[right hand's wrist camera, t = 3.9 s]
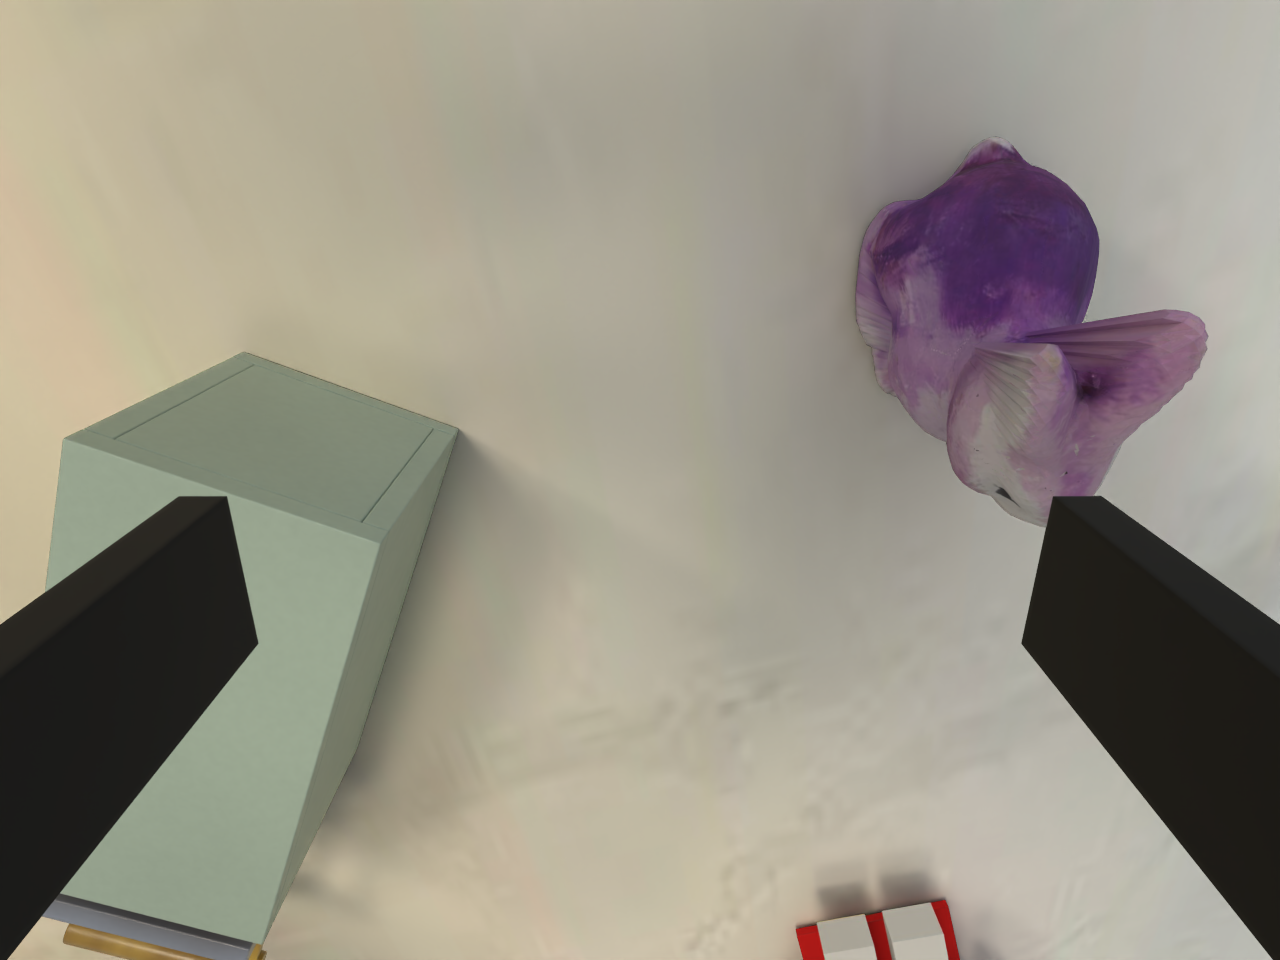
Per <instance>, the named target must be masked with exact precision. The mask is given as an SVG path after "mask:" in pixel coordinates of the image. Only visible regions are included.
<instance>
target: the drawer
mask: <svg viewBox="0 0 1280 960" xmlns="http://www.w3.org/2000/svg"><path fill="white" fill-rule="evenodd" d="M42 917H46V918H50V919H54V920H58V921H62V922H66V923H70V924H69V925H68V927H67V930H66V932H65V935H64V938H63V943H64V944H67V945H71V946H75V947H79V948H84V949H88V950H92V951H96V952H100V953H104V954H108V955H112V956H116V957H120V958H124V959H128V960H265V957H266V954H267V952H266V951H264V950H262V947H263V944H264V943H263V944H262V945H260V944H256V943H252V942H248V941H244V940H241V939H237V938H233V937H229V936H225V935H221V934H217V933H213V932H209V931H205V930H201V929H198V928H194V927H190V926H186V925H182V924H178V923H174V922H170V921H166V920H162V919H158V918H155V917H151V916H147V915H143V914H139V913H135V912H131V911H127V910H123V909H119V908H115V907H112V906H108V905H104V904H100V903H96V902H92V901H88V900H84V899H80V898H76V897H72V896H69V895H65V894H61V893H60V894H59V895H58V896H57V898H56V899H55V900H54V901H53V903H52V904H51V905H50V906H49V908H48V909H47V910H46V911H45V913H44V914H43V915H42Z"/></svg>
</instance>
